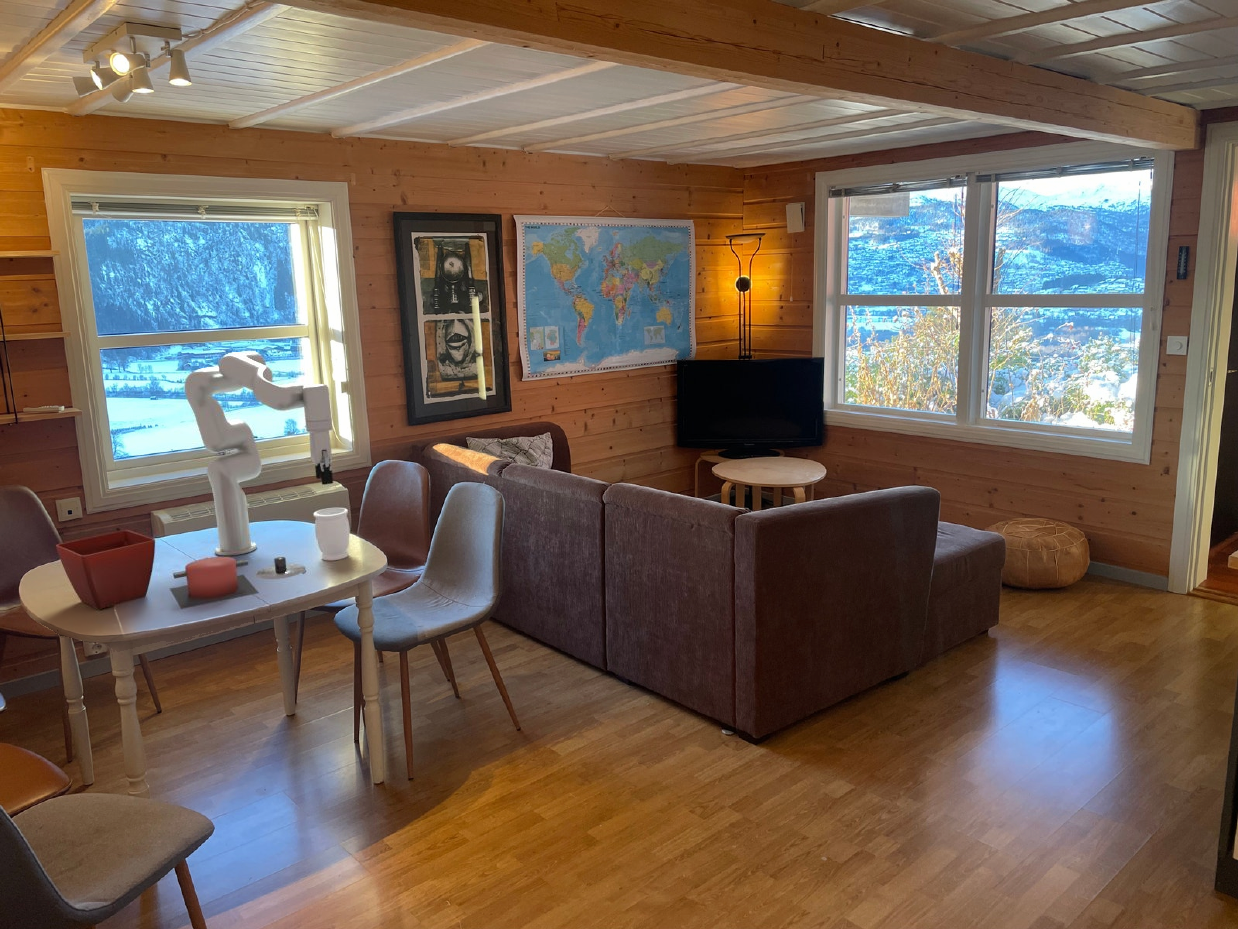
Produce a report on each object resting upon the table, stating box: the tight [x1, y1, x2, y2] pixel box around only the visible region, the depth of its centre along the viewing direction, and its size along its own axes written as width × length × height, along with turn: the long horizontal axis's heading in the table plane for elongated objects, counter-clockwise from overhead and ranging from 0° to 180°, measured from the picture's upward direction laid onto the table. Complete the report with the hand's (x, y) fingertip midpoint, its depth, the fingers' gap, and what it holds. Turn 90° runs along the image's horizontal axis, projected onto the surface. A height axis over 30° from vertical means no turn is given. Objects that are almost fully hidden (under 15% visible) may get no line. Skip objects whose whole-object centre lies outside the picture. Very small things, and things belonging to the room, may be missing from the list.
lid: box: [255, 556, 307, 580], centre depth 272 cm, size 14×14×5 cm
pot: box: [172, 556, 249, 599], centre depth 256 cm, size 13×19×8 cm
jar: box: [313, 507, 351, 561], centre depth 286 cm, size 11×10×15 cm
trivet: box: [169, 574, 259, 610], centre depth 257 cm, size 20×20×1 cm
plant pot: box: [55, 529, 156, 610], centre depth 252 cm, size 19×19×17 cm
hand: (324, 480), depth 275 cm, fingers open, 9 cm apart
